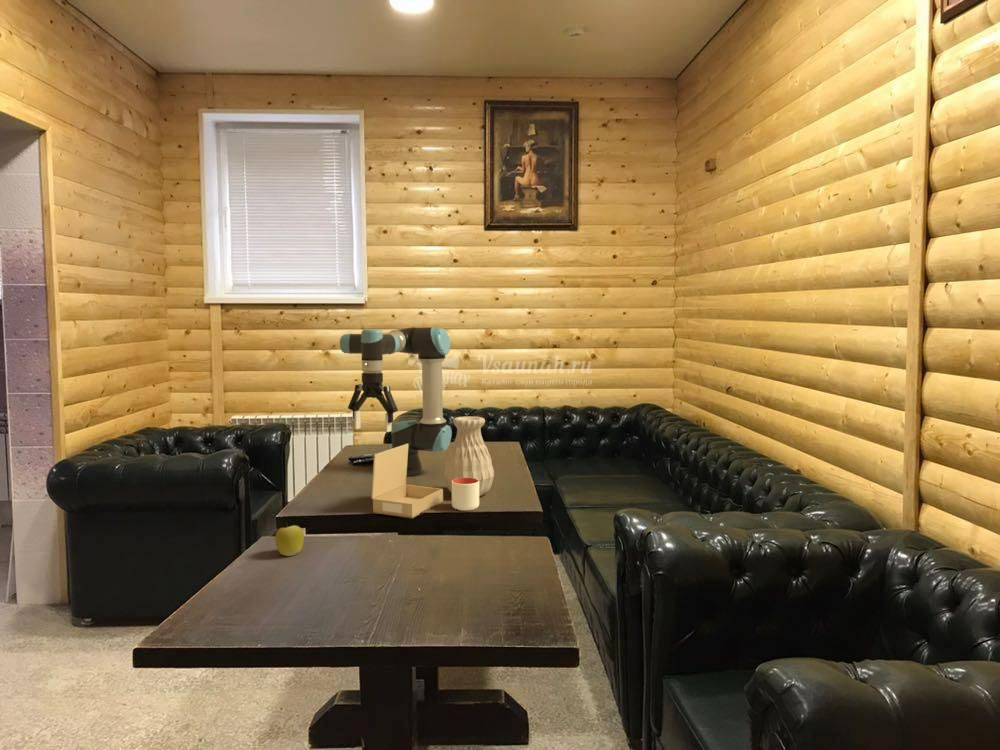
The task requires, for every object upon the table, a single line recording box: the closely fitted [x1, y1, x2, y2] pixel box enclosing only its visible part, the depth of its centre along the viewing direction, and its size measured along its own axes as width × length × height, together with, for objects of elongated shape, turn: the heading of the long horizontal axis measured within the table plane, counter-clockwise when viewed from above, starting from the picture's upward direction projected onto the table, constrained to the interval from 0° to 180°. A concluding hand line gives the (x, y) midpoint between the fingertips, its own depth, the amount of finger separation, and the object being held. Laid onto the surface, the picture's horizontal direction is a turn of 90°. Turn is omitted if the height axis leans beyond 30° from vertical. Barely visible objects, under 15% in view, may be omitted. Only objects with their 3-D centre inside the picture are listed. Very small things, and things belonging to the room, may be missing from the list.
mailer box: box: [372, 484, 444, 519], centre depth 242 cm, size 22×16×5 cm
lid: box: [371, 444, 408, 500], centre depth 244 cm, size 22×16×1 cm
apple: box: [274, 522, 305, 557], centre depth 194 cm, size 8×8×10 cm
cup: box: [451, 478, 480, 512], centre depth 241 cm, size 10×10×10 cm
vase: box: [443, 415, 495, 497], centre depth 259 cm, size 20×20×30 cm
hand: (372, 430), depth 242 cm, fingers open, 13 cm apart
